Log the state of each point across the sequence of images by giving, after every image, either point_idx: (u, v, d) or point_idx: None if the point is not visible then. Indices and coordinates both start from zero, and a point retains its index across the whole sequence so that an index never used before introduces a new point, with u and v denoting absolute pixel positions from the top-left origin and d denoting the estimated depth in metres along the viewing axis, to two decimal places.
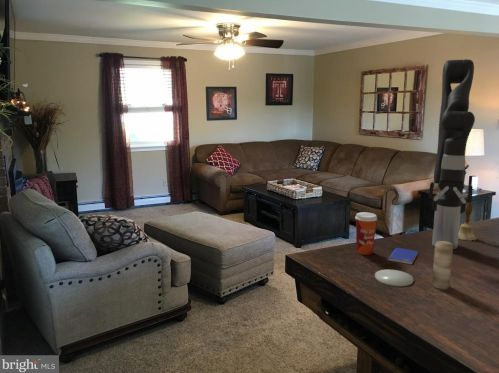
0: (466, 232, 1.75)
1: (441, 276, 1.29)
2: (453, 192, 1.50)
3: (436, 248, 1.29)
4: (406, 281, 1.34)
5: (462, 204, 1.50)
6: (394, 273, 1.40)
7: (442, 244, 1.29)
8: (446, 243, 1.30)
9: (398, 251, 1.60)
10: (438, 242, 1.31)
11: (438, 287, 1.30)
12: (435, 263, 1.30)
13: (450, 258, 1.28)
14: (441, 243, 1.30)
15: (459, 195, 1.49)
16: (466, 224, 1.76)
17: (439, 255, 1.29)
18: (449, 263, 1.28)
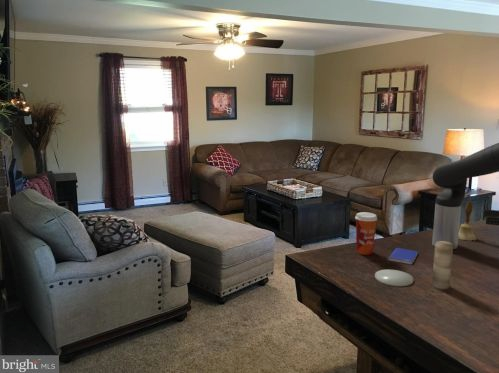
0: (466, 232, 1.75)
1: (441, 276, 1.29)
2: None
3: (436, 248, 1.29)
4: (406, 281, 1.34)
5: None
6: (394, 273, 1.40)
7: (442, 244, 1.29)
8: (446, 243, 1.30)
9: (398, 251, 1.59)
10: (438, 242, 1.31)
11: (438, 287, 1.30)
12: (435, 263, 1.30)
13: (450, 258, 1.28)
14: (441, 243, 1.30)
15: None
16: (466, 224, 1.76)
17: (439, 255, 1.29)
18: (449, 263, 1.28)
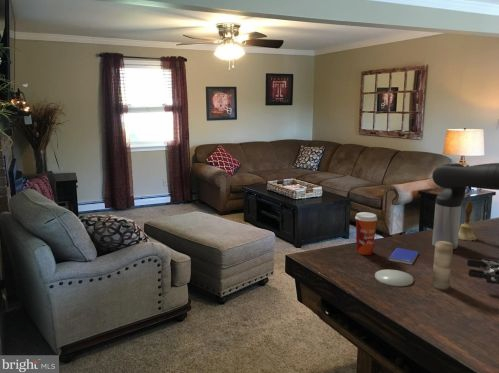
0: (466, 232, 1.75)
1: (441, 276, 1.29)
2: None
3: (436, 248, 1.29)
4: (406, 281, 1.34)
5: None
6: (394, 273, 1.40)
7: (442, 244, 1.29)
8: (446, 243, 1.30)
9: (398, 251, 1.59)
10: (438, 242, 1.31)
11: (438, 287, 1.30)
12: (435, 263, 1.30)
13: (450, 258, 1.28)
14: (441, 243, 1.30)
15: None
16: (466, 224, 1.76)
17: (439, 255, 1.29)
18: (449, 263, 1.28)
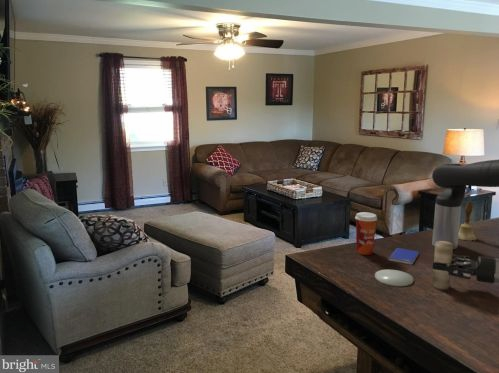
0: (466, 232, 1.75)
1: (441, 276, 1.29)
2: None
3: (436, 248, 1.29)
4: (406, 281, 1.34)
5: None
6: (394, 273, 1.40)
7: (442, 244, 1.29)
8: (446, 243, 1.30)
9: (398, 251, 1.59)
10: (438, 242, 1.31)
11: (438, 287, 1.30)
12: None
13: (450, 258, 1.28)
14: (441, 243, 1.30)
15: None
16: (466, 224, 1.76)
17: (439, 255, 1.29)
18: (448, 263, 1.28)
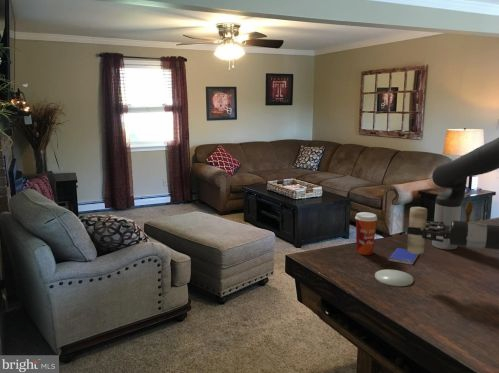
0: None
1: (415, 240, 1.30)
2: None
3: (410, 213, 1.31)
4: (406, 281, 1.34)
5: None
6: (394, 273, 1.40)
7: (416, 209, 1.30)
8: (421, 208, 1.31)
9: (399, 251, 1.59)
10: (413, 207, 1.32)
11: (413, 252, 1.31)
12: None
13: (424, 222, 1.29)
14: (415, 208, 1.31)
15: None
16: None
17: (413, 220, 1.30)
18: None
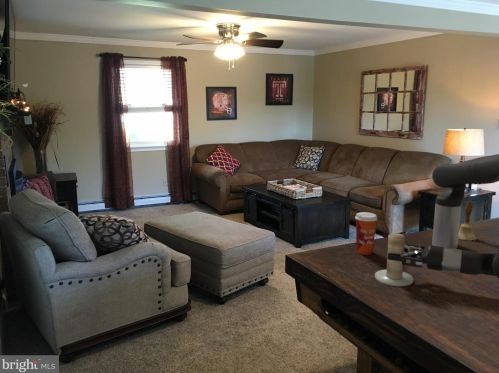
0: (466, 232, 1.75)
1: (393, 266, 1.35)
2: None
3: (389, 240, 1.35)
4: (406, 281, 1.34)
5: None
6: None
7: (394, 236, 1.35)
8: (399, 235, 1.35)
9: None
10: (391, 234, 1.36)
11: (391, 277, 1.36)
12: None
13: (402, 249, 1.34)
14: (393, 235, 1.36)
15: None
16: (466, 224, 1.76)
17: (391, 246, 1.34)
18: (400, 254, 1.34)
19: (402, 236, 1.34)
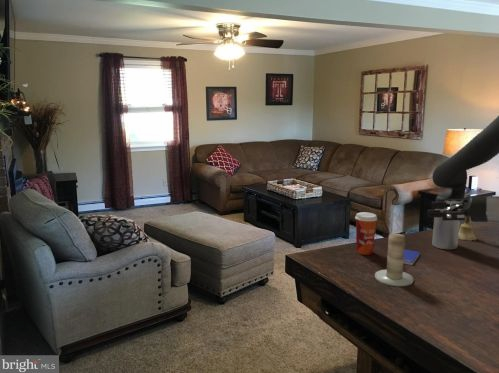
0: (466, 232, 1.75)
1: (394, 267, 1.35)
2: None
3: (389, 240, 1.35)
4: (406, 281, 1.34)
5: None
6: None
7: (395, 236, 1.34)
8: (399, 235, 1.35)
9: None
10: (391, 234, 1.36)
11: (391, 278, 1.36)
12: (388, 255, 1.36)
13: (402, 250, 1.34)
14: (394, 235, 1.36)
15: None
16: (466, 224, 1.76)
17: (391, 247, 1.34)
18: (401, 254, 1.34)
19: (402, 236, 1.34)
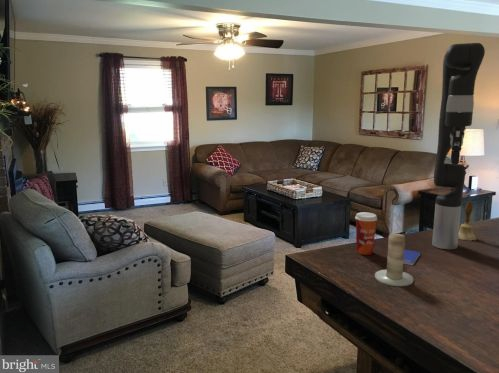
0: (466, 232, 1.75)
1: (394, 267, 1.35)
2: None
3: (389, 240, 1.35)
4: (406, 281, 1.34)
5: None
6: None
7: (395, 236, 1.34)
8: (399, 235, 1.35)
9: None
10: (391, 234, 1.36)
11: (391, 278, 1.36)
12: (388, 255, 1.36)
13: (402, 250, 1.34)
14: (394, 235, 1.36)
15: None
16: (466, 224, 1.76)
17: (391, 247, 1.34)
18: (401, 254, 1.34)
19: (402, 236, 1.34)
